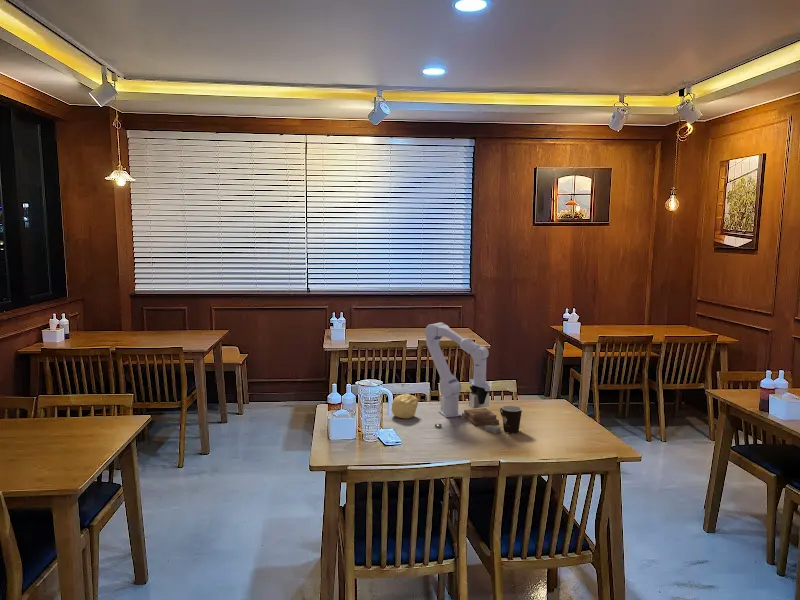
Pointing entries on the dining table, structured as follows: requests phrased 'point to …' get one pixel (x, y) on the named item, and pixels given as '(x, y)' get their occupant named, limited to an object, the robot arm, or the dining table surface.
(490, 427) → the grey offcut
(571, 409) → the dining table surface
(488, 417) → the stand
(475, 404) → the block
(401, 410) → the tan rounded lump
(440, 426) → the steel nut
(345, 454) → the dining table surface
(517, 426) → the coffee mug
